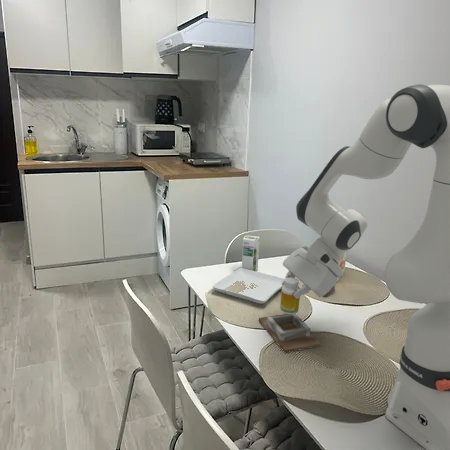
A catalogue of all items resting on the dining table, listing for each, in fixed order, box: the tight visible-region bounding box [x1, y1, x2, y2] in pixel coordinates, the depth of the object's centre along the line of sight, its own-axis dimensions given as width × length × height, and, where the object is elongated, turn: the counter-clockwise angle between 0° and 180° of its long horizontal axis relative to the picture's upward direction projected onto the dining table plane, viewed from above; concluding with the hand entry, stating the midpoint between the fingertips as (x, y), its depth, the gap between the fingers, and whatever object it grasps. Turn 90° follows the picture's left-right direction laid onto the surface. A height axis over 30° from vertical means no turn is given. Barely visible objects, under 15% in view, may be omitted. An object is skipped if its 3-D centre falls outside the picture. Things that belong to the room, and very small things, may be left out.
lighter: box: [321, 284, 336, 298], centre depth 150 cm, size 8×3×10 cm, turn 141°
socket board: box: [258, 313, 320, 353], centre depth 125 cm, size 18×11×4 cm, turn 19°
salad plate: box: [212, 267, 285, 304], centre depth 152 cm, size 21×21×3 cm
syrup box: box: [241, 234, 261, 272], centre depth 167 cm, size 6×6×14 cm
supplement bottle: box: [279, 277, 301, 315], centre depth 122 cm, size 5×5×10 cm
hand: (288, 291), depth 121 cm, fingers closed on supplement bottle, 5 cm apart
